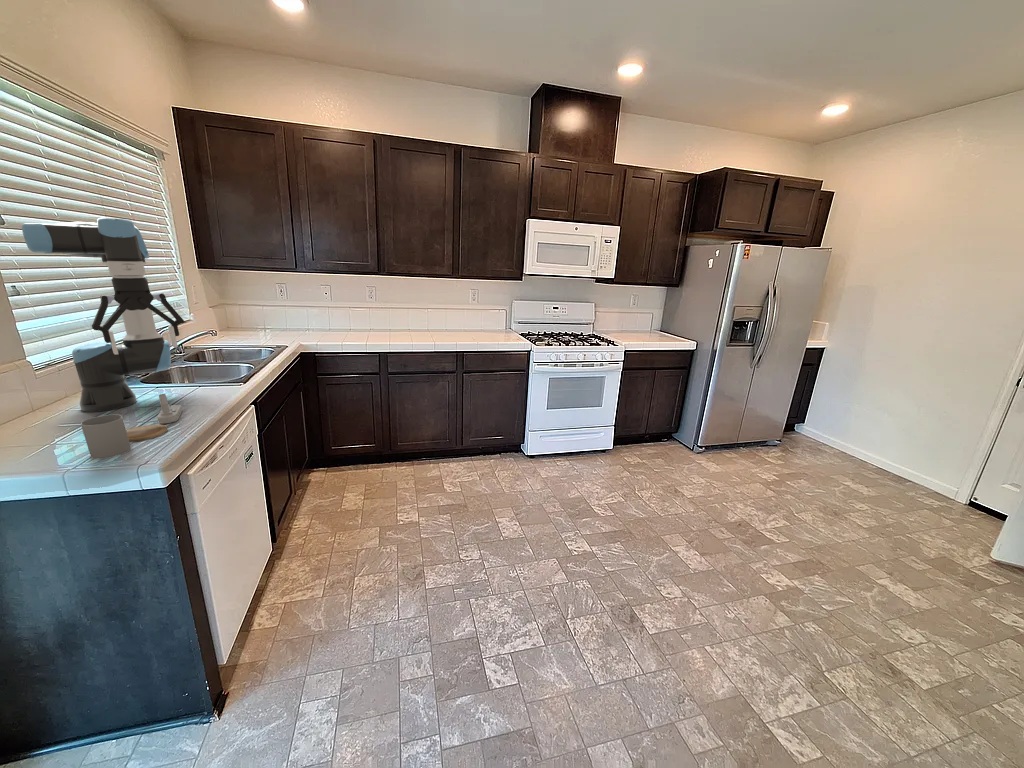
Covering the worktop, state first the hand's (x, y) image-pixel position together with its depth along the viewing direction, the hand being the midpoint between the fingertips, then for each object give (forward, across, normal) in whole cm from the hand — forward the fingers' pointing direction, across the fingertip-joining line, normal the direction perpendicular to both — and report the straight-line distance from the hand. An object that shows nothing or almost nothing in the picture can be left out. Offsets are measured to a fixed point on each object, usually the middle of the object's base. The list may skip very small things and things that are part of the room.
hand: (146, 350), depth 122 cm
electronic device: (+28, +4, +16) cm, 32 cm away
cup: (+27, -14, -5) cm, 31 cm away
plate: (+27, -5, +4) cm, 28 cm away
